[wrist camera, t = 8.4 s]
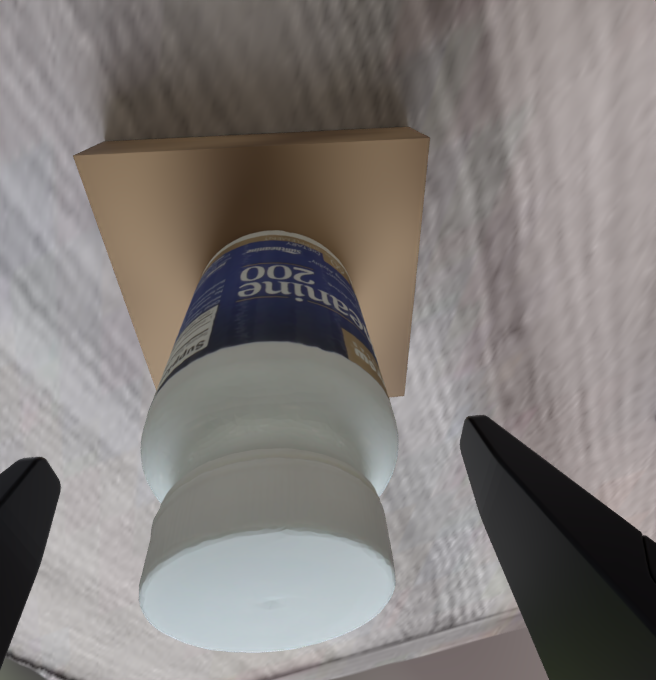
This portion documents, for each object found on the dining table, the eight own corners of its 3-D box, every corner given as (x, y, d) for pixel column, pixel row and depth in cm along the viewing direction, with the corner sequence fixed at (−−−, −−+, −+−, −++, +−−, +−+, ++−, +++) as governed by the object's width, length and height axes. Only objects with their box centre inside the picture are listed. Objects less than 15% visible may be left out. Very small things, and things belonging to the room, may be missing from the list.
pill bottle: (383, 277, 14) (515, 556, 6) (301, 381, 17) (321, 682, 9) (244, 190, 12) (174, 440, 4) (172, 322, 14) (37, 647, 6)
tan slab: (408, 126, 14) (429, 137, 12) (391, 361, 20) (404, 395, 18) (103, 141, 13) (73, 155, 11) (177, 379, 19) (165, 417, 17)
